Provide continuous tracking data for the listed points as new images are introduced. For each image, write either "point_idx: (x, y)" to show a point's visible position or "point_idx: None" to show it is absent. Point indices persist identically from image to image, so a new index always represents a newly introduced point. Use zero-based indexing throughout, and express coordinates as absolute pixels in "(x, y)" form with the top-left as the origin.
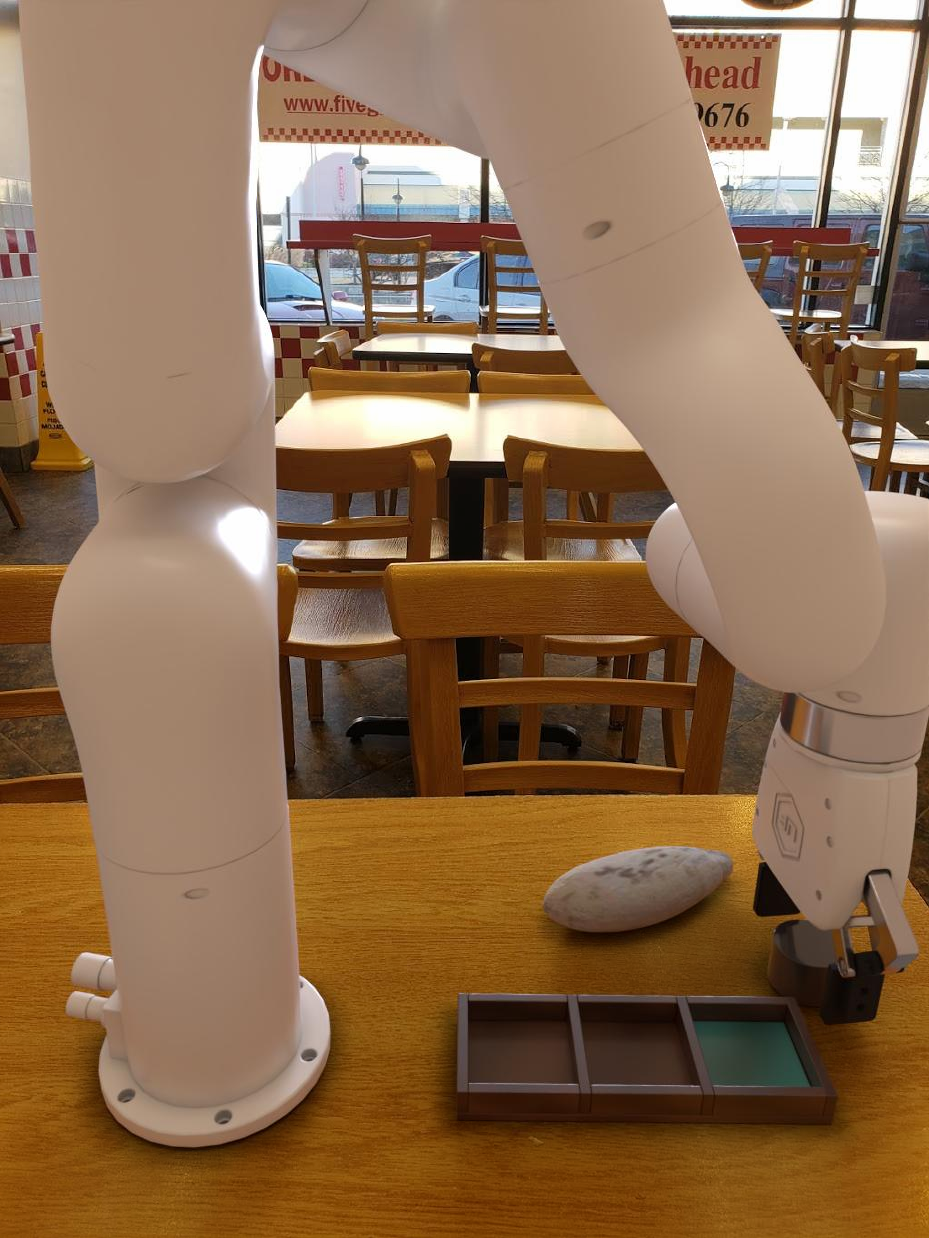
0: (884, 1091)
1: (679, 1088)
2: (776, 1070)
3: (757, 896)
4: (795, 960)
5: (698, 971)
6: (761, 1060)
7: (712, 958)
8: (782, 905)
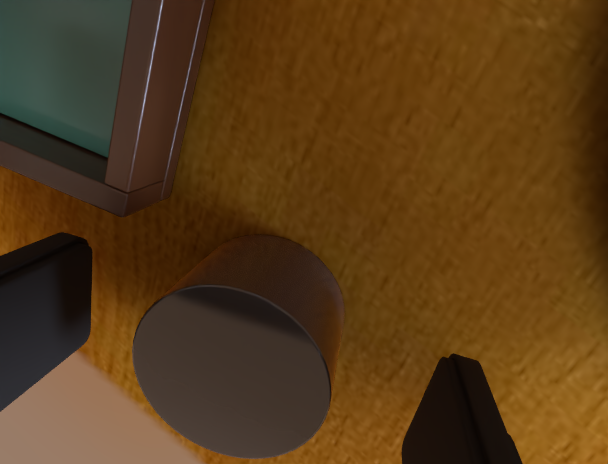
0: (9, 243)
1: None
2: (16, 55)
3: (474, 400)
4: (171, 294)
5: (388, 89)
6: (42, 37)
7: (415, 160)
8: (424, 432)
